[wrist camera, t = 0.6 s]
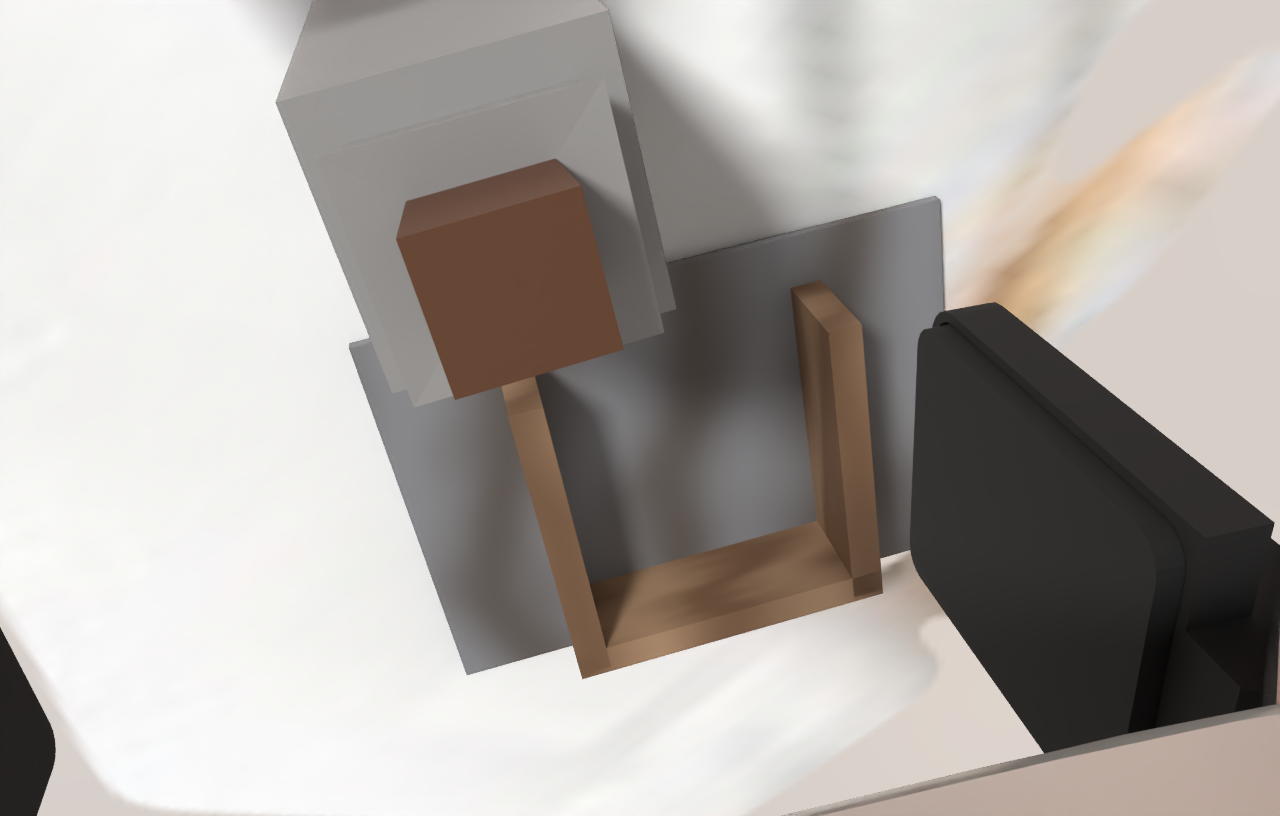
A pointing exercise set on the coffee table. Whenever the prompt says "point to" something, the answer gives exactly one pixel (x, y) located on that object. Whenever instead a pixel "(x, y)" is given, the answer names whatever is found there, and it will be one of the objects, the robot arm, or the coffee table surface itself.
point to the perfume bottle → (478, 185)
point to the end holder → (684, 456)
